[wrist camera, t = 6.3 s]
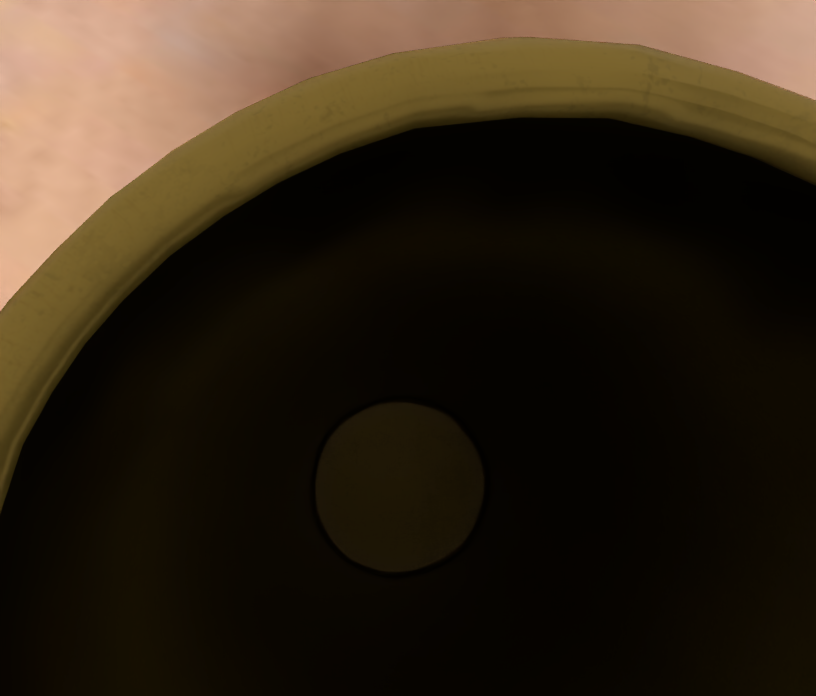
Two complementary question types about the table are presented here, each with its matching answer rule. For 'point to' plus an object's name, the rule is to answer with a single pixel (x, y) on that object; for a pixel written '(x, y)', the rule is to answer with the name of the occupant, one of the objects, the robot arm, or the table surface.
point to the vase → (429, 394)
